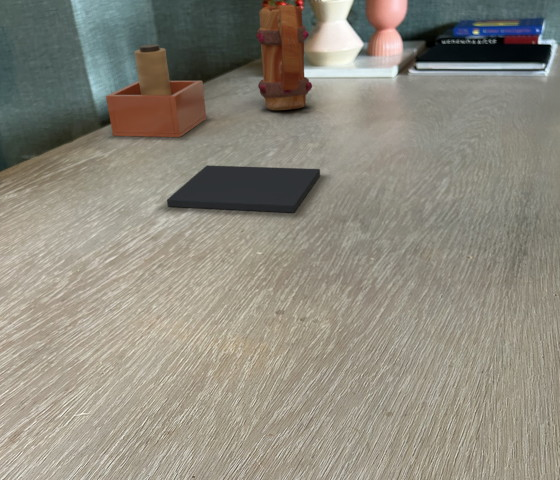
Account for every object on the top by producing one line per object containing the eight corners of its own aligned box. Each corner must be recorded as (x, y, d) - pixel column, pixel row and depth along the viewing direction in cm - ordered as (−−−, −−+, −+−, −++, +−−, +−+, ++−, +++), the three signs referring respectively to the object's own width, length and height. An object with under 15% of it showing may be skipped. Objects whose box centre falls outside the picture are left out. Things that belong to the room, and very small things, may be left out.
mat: (167, 206, 72) (166, 199, 71) (207, 171, 81) (206, 165, 81) (294, 213, 68) (293, 205, 68) (320, 175, 78) (320, 168, 77)
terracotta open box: (113, 135, 98) (105, 96, 95) (144, 117, 106) (138, 80, 103) (180, 137, 95) (174, 96, 92) (206, 118, 103) (202, 80, 100)
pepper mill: (140, 127, 99) (128, 48, 93) (153, 119, 103) (141, 43, 97) (168, 127, 98) (157, 48, 92) (179, 120, 102) (169, 43, 96)
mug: (257, 103, 110) (250, -1, 102) (306, 99, 111) (303, -4, 102) (265, 125, 98) (258, 9, 90) (320, 121, 98) (318, 5, 90)
